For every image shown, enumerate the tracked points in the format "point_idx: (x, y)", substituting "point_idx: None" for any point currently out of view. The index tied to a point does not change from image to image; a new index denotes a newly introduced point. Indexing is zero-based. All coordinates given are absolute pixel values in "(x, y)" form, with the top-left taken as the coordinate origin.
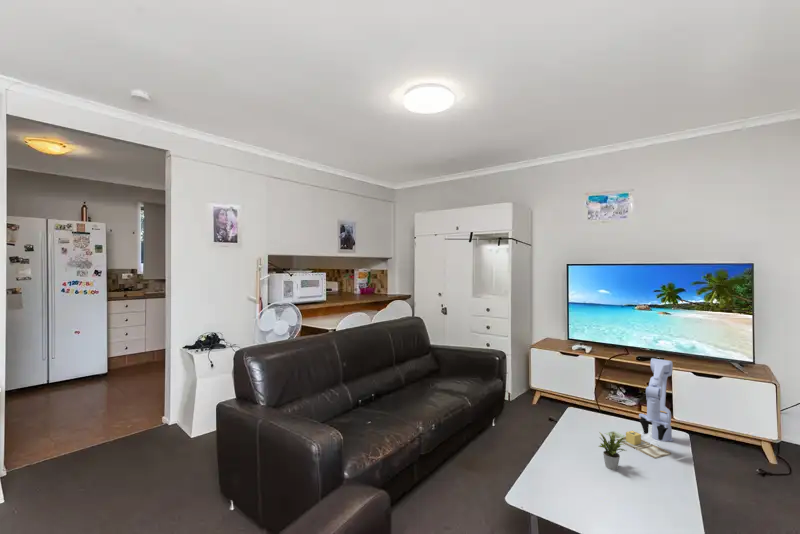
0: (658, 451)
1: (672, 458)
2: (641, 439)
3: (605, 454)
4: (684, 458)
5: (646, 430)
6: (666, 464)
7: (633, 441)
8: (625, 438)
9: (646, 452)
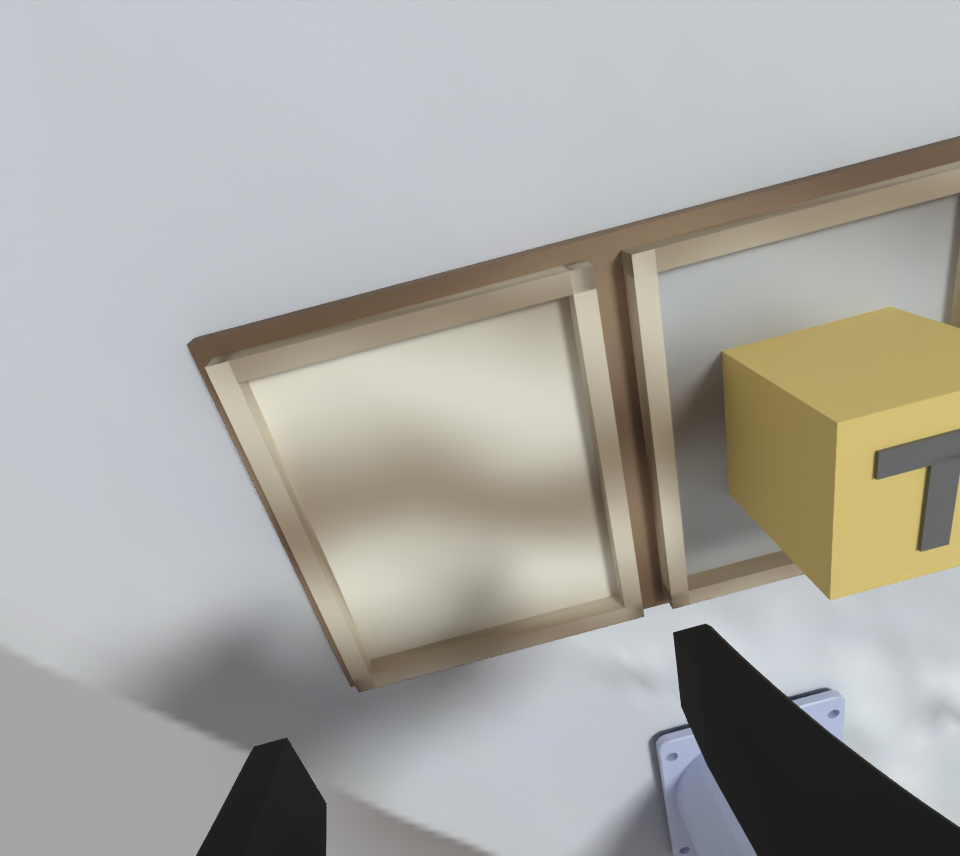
0: (453, 574)
1: (276, 629)
2: None
3: None
4: None
5: (725, 753)
6: (64, 432)
7: (777, 366)
8: None
9: (446, 371)
